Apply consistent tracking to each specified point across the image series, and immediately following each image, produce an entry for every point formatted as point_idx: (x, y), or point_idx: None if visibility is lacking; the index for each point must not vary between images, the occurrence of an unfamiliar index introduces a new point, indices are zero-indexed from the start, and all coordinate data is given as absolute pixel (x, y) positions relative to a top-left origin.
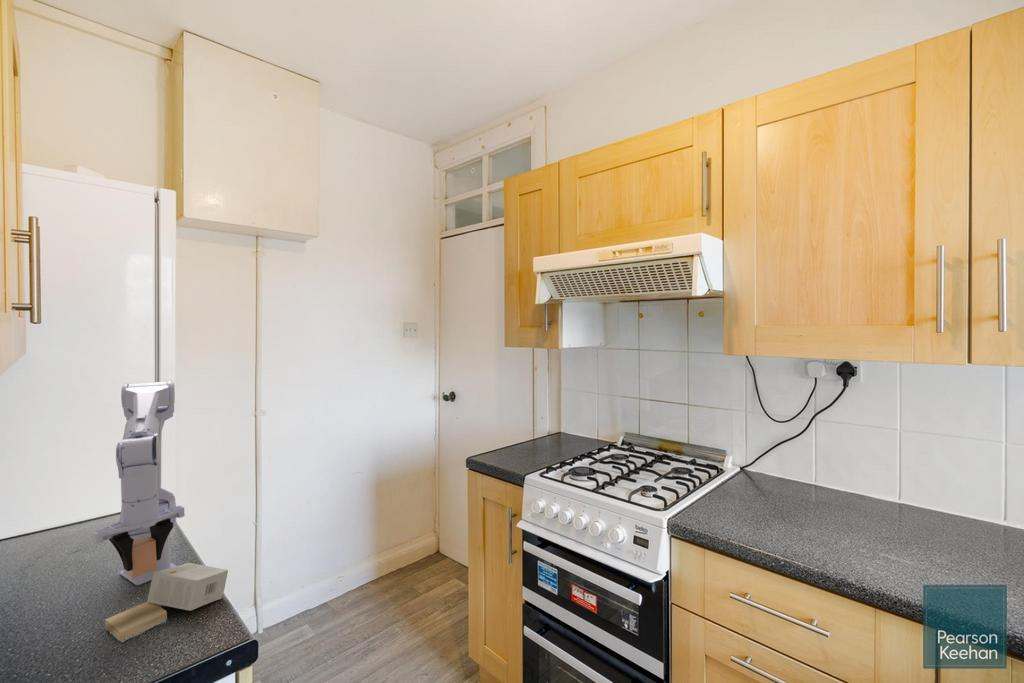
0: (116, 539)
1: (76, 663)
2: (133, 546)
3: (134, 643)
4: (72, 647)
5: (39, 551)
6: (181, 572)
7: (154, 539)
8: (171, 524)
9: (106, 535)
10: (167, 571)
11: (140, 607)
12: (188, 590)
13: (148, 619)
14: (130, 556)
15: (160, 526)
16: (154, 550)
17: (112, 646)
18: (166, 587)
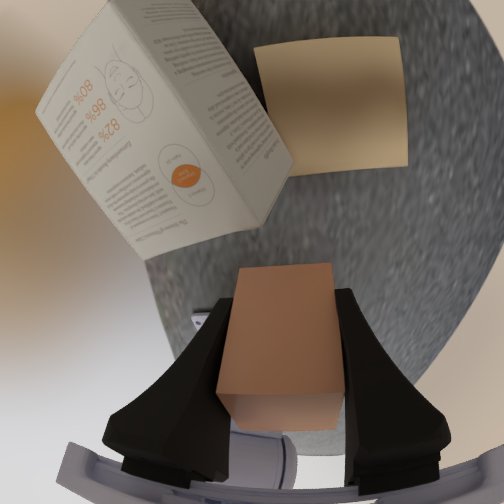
0: (430, 461)
1: (472, 54)
2: (326, 399)
3: (357, 6)
4: (462, 139)
5: (339, 438)
6: (154, 153)
7: (220, 399)
8: (105, 441)
9: (480, 489)
10: (205, 200)
11: (316, 150)
12: (158, 14)
13: (314, 41)
14: (355, 343)
15: (167, 463)
16: (232, 341)
17: (404, 46)
18: (230, 114)
